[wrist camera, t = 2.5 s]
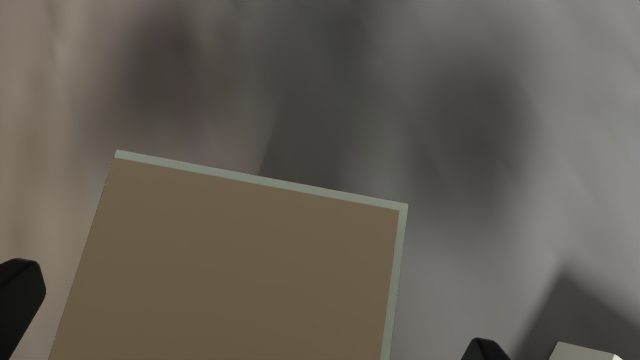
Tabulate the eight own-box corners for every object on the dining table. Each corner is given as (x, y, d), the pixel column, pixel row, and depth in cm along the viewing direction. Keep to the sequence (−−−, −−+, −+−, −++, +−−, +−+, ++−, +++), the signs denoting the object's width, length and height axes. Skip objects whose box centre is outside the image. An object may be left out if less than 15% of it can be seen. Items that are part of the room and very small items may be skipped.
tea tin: (316, 358, 16) (371, 580, 4) (215, 340, 16) (-22, 510, 4) (333, 256, 17) (416, 197, 5) (238, 238, 17) (103, 139, 5)
